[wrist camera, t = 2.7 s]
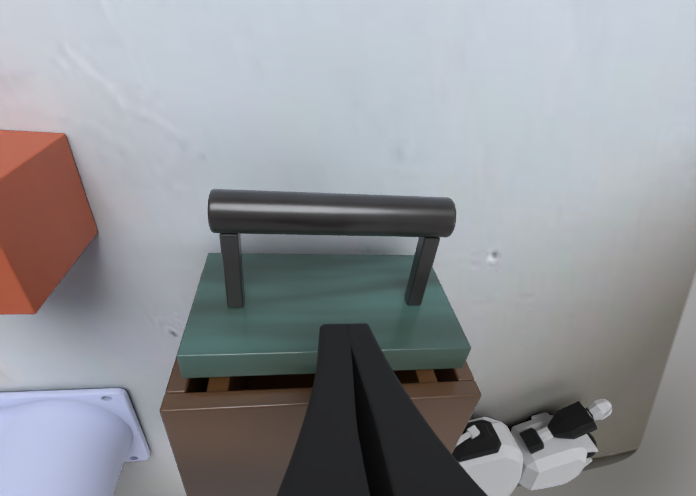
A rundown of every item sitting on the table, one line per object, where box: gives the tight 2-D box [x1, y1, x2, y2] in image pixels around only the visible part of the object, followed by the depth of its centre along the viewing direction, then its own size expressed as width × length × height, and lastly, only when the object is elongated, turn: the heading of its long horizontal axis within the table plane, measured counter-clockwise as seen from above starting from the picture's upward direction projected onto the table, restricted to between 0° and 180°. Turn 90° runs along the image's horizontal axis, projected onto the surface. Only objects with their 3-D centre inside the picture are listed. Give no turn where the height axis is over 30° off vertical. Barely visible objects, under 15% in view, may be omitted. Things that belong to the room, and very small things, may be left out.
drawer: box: [177, 189, 471, 392], centre depth 17 cm, size 17×10×6 cm, turn 174°
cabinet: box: [160, 271, 481, 496], centre depth 20 cm, size 13×11×7 cm
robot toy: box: [452, 399, 612, 496], centre depth 29 cm, size 12×4×15 cm
